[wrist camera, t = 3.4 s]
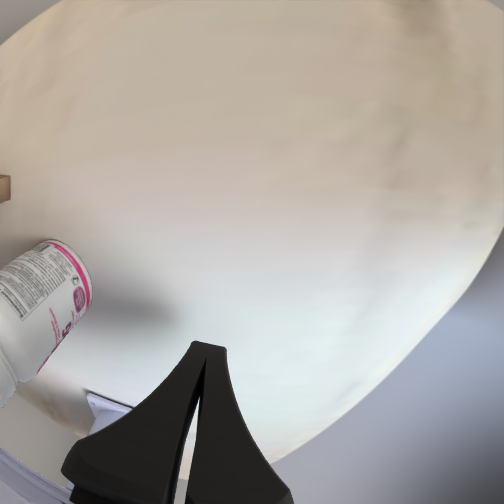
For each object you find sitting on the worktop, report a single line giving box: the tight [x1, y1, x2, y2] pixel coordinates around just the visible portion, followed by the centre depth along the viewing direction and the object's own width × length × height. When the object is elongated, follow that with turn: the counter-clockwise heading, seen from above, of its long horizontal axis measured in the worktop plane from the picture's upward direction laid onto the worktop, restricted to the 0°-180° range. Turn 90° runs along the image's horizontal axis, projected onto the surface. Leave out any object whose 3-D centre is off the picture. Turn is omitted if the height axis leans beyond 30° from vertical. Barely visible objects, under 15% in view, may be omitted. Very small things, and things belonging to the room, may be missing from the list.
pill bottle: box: [0, 240, 92, 408], centre depth 9 cm, size 5×5×8 cm
